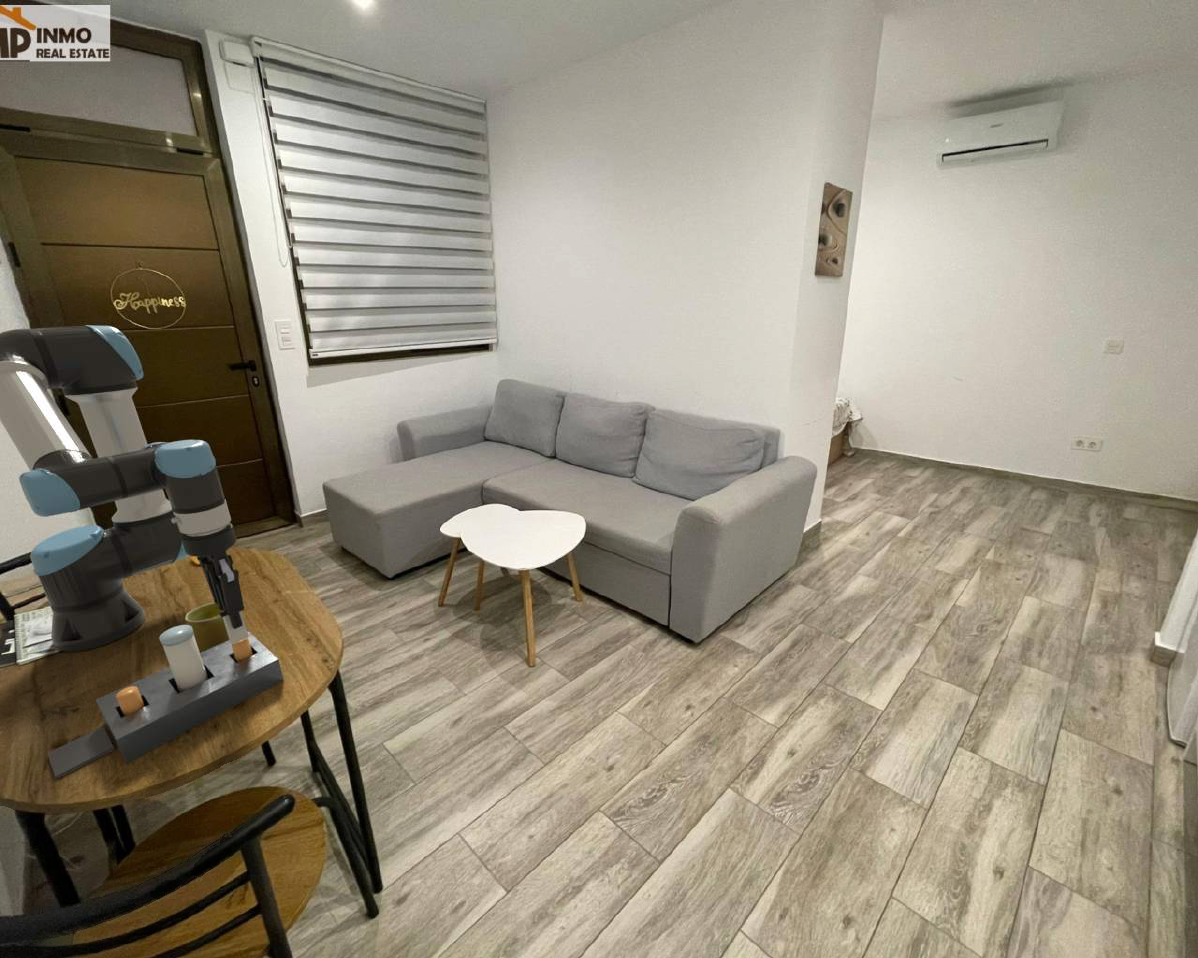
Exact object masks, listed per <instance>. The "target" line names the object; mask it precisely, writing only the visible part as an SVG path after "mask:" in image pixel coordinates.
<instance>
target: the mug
mask: <svg viewBox="0 0 1198 958" xmlns="http://www.w3.org/2000/svg"><path fill="white" fill-rule="evenodd" d="M221 612H223V610H222V611H221V610H220V609H219V606H218V604H215V602H211V603H206V604H203V605H200V606H198V607H196V608H194V609H192V610H190V611H188V612H187V613H186V614H185V617H184V618H185V619H184V620H185V621H184V622H185V625H190V626H191V627H192V629H193V632H194V637H195V640H196V643H197V646H198V649H199V652H200V653H201V652H204V651H206V650H208V649H210V648H213V647H215V646H217V645H219V644H222V643H224V642H226V641H228V640H230V639H229V636H228V633H227V630H226V626H225V623H224V620H223V617H221V616H220V614H219V613H221Z"/></svg>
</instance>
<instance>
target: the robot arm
mask: <svg viewBox="0 0 1198 958" xmlns="http://www.w3.org/2000/svg"><path fill="white" fill-rule="evenodd" d="M143 377H144V371H143V366H142V363H141V360H140V358H139V356H138V354H137V352H136V351H135V349H134V346H133V345H132V344H131V342H130V340H129V339H128V338H127V337H126V335H125V334H124V333H123V332H121V330H119V329H118V328H116V327H113V326H111V325H89V324H86V325H78V326H59V327H56V326H55V327H41V328H40V327H39V328H18V329H17V328H16V329H10V330H6V331H2V332H0V422H1V424H2V426H3V428H5V429H4V430H5V431H6V433H7V434H8V436H9V438H10V439H11V441H12V442H13V445H14V446H15V447H16V450H17V451H18V452H19V454H20V455H21V457H22V459H23V461H24V462H25V464H26V466H27V468H28V469H29V471H25V472H22V473H21V474H20V475H19V477H18V480H19V484H20V487H21V490H22V492H23V494H24V496H25V499H26V501H27V502H28V504H29V507H30V508H31V511H33V513H34V514H35V515H37V516H38V517H47V518H48V517H52V516H57V515H62V514H67V513H74V512H78V511H81V510H85V509H89V508H92V507H96V506H100V505H105V504H107V503H108V504H109V503H112V502H114V503H115V506H116V509H117V510H116V512H115V513H114V514H113V516H112V517H111V521H112V524H113V526H112V527H110V528H109V527H108V528H106V529H103V527H101V526H99V525H97V524H96V525H95V524H89V525H84V526H77V527H73V528H70V529H67V530H63V531H61V532H59V533H56V534H54V535H51V536H49V537H47V538H46V539H44V540H42V541H41V542H39V543H38V544H36V545H35V546H34V548H33V549H32V550H31V552H30V555H29V557H30V561H31V564H32V566H33V573H34V575H35V576H37V577H38V579H39V582H40V584H41V587H42V590H43V592H44V594H45V597H46V599H47V601H48V604H49V606H50V608H51V611H52V621H51V622H52V623H51V642H52V643H53V645H54V648H55V647H56V648H57V649H56V648H55V649H56V650H58V651H60V652H66V653H71V652H72V653H74V652H83V651H87V650H88V651H89V650H91V649H95V648H99V647H101V646H106V645H107V644H110V643H112V642H116V641H117V640H120V639H122V638H123V637H126V636H128V635H129V634H131V633H132V632H134V631H135V630H137V629H138V628H139V627H140V626H142V624H143V623H144V621H145V619H146V614H145V612H144V608H143V607H142V606H141V605H140V603H139V602H138V601H137V600H135V598H134V597H132V595H131V594H130V593H129V592H128V591H126V589H125V587H124V585H123V583H122V581H123V580H124V579H127V578H130V577H133V576H136V575H140V574H142V573H145V572H148V571H151V570H152V571H153V570H154V569H157V568H160V567H163V566H167V565H169V564H171V565H172V564H175V563H176V562H178V561H180V560H183V559H186V558H188V557H190V556H191V557H196V558H197V561H198V562H199V564H200V566H201V569H202V572H203V574H204V576H205V580H206V582H207V584H208V585H207V586H208V587H209V590H210V592H211V595H212V597H213V603H215V604H218V606H219V609H220V610H221V611H222V610H223V612H221V613H219V614H220V616H221V617H223V620H224V623H225V626H226V630H227V633H228V636H229V639H230V642H231V643H232V644H234V643H236V642H239V641H241V640H243V639H245V638H248V637H249V636H248V633H247V632H248V630H247V626H246V623H245V620H244V617H243V616H244V615H243V613H242V612H243V611H245V605H244V601H243V596H242V590H241V585H240V584H241V583H240V576H239V575H240V573H239V570H238V569H236V568H235V569H234V567H233V564H234V561H233V558H232V555H231V554H228V553H227V551H228V550H229V549H230V548H232V547H233V546H234V545H235V544H236V543H237V537H236V533H235V529H234V526H233V524H232V523H231V522H232V518H231V517H232V516H231V514H230V511H229V507H228V504H227V503H228V502H227V500H226V499H225V494H224V491H223V487H222V484H221V479H220V476H219V473H218V468H217V465H216V462H217V461H216V458H215V456H214V455H213V452H212V449H211V446H210V445H209V443H208V442H207V441H204V440H201V439H182V440H177V441H176V440H175V441H172V442H171V441H170V442H165V441H164V442H163V441H159V442H157V441H156V442H152V443H148V441H147V439H146V436H145V433H144V430H143V428H142V427H143V426H142V424H141V421H140V419H139V418H140V417H139V415H138V411H137V410H136V406H135V403H134V401H133V398H132V397H133V395H135V393H136V391H138V385H137V382H136V381H140V380H142V379H143ZM53 389H61V390H62V392H63V394H64V397H65V398H67V399H69V400H71V401H73V402H75V403H77V405H78V406H79V409H80V412H81V415H82V417H83V419H84V423H85V426H86V428H87V431H88V432H89V436H90V438H91V441H92V443H93V444H92V445H93V446H94V449H95V452H96V455H97V457H96V458H93V456H92V455H91V453H90V452H89V450H88V449H87V448H86V446H85V445H84V442H82V440H81V439H80V437H79V436H78V434H77V433H76V432H75V430H74V429H73V427H72V426H71V424H70V423H69V421H68V420H67V418H66V417H65V415H64V414H63V412H62V411H61V409H60V408H59V406H58V405H57V403H56V402H55V400H54V399H53V398H52V396H51V394H50V393H49V392H48V390H53ZM164 490H165V491H166V494H167V497H168V498H166V495H165V492H164Z"/></svg>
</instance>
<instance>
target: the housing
mask: <svg viewBox="0 0 1198 958" xmlns="http://www.w3.org/2000/svg"><path fill="white" fill-rule="evenodd" d="M247 633H248V636H249V637H248V639H249V643H250V646H251V650H252V653H253V655H252V656H250V657H248V658H246V659H244V660H242V661H240V662H238V663H237V662H236V659H235V656H234V652H233V649H232V646H231V642H230V640H228V641H226V642H224V643H222V644H219V645H217V646H215V647H213V648H210V649H208V650H206V651H204V652H201V653H200V655H201V659H202V662H203V665H204V668H205V671H206V674H207V677H208V680H206V681H204V682H202V683H200V684H198V685H196V686H194V687H192V688H190V689H188V690H186V691H184V692H181V693H180V692H179V690H178V687H177V684H176V681H175V678H174V676H173V673H172V670H171V667H170V666H168V667H165V668H164V669H162V670H159V671H156V672H155V673H152V674H150V675H148V676H145V677H143V678H140V679H138V680H136V681H135V682H132V683H130V684H128V685H126V686H124V687H120V688H118V689H116V690H114V691H112V692H110V693H107V694H104V695H103V696H100V697H99V698H96V699H95V701H96V703H97V706H98V708H99V710H100V713H101V715H102V717H103V720H104V722H105V724H106V726H107V728H108V729H109V732H110V734H111V735H112V738H113V740H114V742H115V743H116V746H117V747H118V750H119V752H120V754H121V755H122V757H123V759H124V761H125V763H126V764H128V763H130V762H132V761H134V760H136V759H138V758H139V757H142V756H143V755H146V754H147V753H149V752H151V751H153V750H155V749H157V748H158V747H160V746H163V745H164V744H166V743H168V742H169V741H171V740H173V739H176V738H177V737H179V736H181V735H182V734H185V733H186V732H189V731H190V730H192V729H194V728H196V727H198V726H200V725H202V724H203V723H205V722H207V721H209V720H211V719H213V718H215V717H216V716H218V715H220V714H223V713H225V712H226V711H228V710H230V709H232V708H234V707H236V706H237V705H239V704H241V703H243V702H245V701H247V700H249V699H251V698H252V697H254V696H256V695H258V694H260V693H262V692H264V691H266V690H267V689H269V688H272V687H273V686H275V685H277V684H279V683H280V682H283V681H284V676H283V672H282V668H281V664H280V660H279V658H278V657H277V656H275V654H274V653H272V652H271V651H270V650H269V649H268V648H267V646H265V645H264V644H263V643H262V642H261V641H260V640H258V638H257V637H255V635H253V634H252V632H250V631H247ZM131 686H136V687H137V688H138V690H139V693H140V695H141V698H142V701H143V703H144V706H145V707H144V708H142V709H140V710H137V711H135V712H133V713H131V714H129V715H127V716H125V717H124V715H123V713H122V710H121V708H120V705H119V703H118V700H117V698H116V695H117V693H118V692H120V691H121V690H123V689H125V688H127V687H131Z"/></svg>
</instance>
